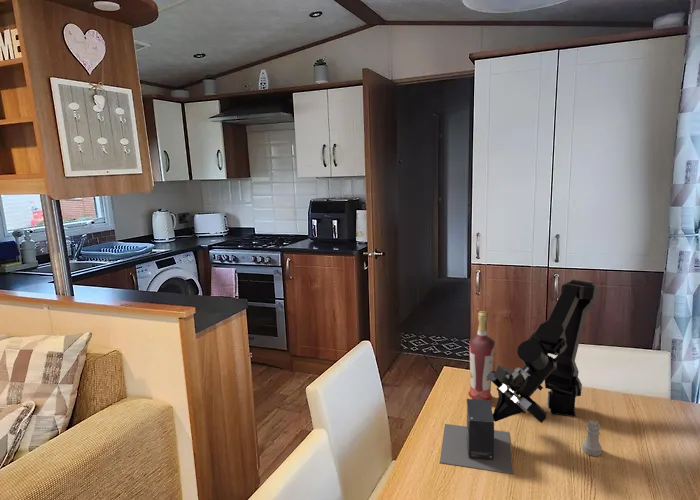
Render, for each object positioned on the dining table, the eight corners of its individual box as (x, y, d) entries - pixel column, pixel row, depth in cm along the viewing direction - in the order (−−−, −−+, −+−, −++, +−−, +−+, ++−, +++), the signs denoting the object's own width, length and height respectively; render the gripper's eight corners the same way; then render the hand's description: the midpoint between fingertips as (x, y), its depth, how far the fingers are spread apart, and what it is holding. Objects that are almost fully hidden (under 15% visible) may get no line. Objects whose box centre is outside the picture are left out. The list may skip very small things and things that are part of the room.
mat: (508, 432, 123) (508, 432, 123) (513, 474, 107) (513, 473, 107) (444, 424, 128) (444, 423, 128) (439, 463, 112) (439, 462, 112)
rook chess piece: (599, 447, 116) (602, 419, 114) (603, 458, 112) (605, 429, 110) (580, 444, 118) (582, 416, 116) (582, 455, 113) (585, 426, 112)
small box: (495, 460, 111) (495, 421, 109) (468, 458, 113) (467, 420, 111) (491, 435, 122) (491, 399, 120) (466, 433, 123) (465, 398, 121)
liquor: (490, 407, 136) (493, 317, 131) (465, 402, 139) (468, 314, 134) (494, 395, 143) (497, 310, 137) (470, 390, 146) (472, 307, 140)
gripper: (494, 342, 123) (456, 385, 123) (538, 372, 106) (494, 423, 105) (518, 365, 127) (481, 408, 126) (565, 398, 109) (522, 448, 109)
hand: (493, 420), depth 116 cm, fingers closed
